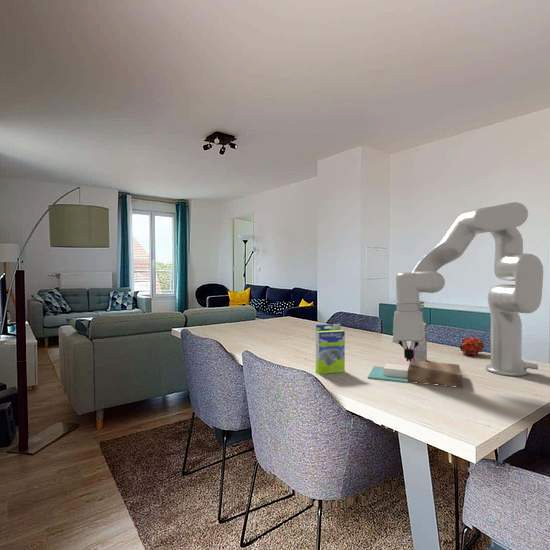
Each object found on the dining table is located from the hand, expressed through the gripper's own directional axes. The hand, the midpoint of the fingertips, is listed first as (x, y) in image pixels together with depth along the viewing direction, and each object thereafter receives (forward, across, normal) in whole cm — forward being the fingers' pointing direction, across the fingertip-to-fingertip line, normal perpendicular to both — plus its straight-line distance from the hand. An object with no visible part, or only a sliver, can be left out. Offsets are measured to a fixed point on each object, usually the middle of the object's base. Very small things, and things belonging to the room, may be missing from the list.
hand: (409, 360), depth 128 cm
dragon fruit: (+7, -23, -43) cm, 49 cm away
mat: (+6, +7, 0) cm, 9 cm away
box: (+5, +27, +5) cm, 28 cm away
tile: (+5, +4, +1) cm, 7 cm away
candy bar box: (+6, -2, -22) cm, 23 cm away
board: (+6, -8, 0) cm, 10 cm away
